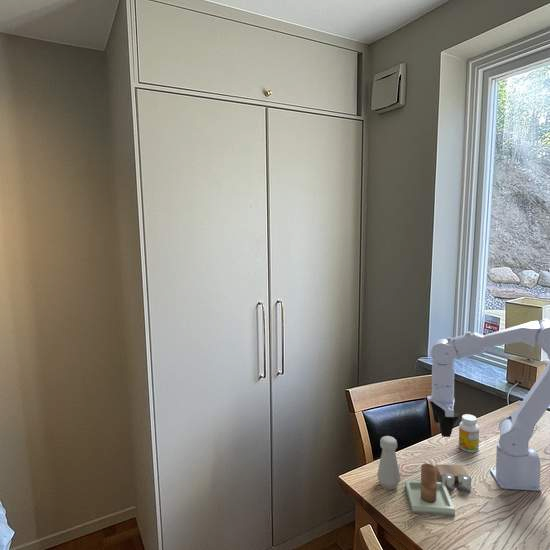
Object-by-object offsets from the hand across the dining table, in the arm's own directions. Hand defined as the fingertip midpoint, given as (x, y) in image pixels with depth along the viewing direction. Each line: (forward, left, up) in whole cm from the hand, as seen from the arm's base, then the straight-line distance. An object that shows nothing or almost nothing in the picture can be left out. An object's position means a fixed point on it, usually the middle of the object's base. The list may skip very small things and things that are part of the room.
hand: (442, 429), depth 112 cm
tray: (+7, +16, -10) cm, 20 cm away
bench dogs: (-1, +11, -10) cm, 15 cm away
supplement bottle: (-10, -9, -11) cm, 17 cm away
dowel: (+7, +16, -10) cm, 20 cm away
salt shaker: (+16, +11, -11) cm, 22 cm away
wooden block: (-1, +6, -11) cm, 12 cm away
